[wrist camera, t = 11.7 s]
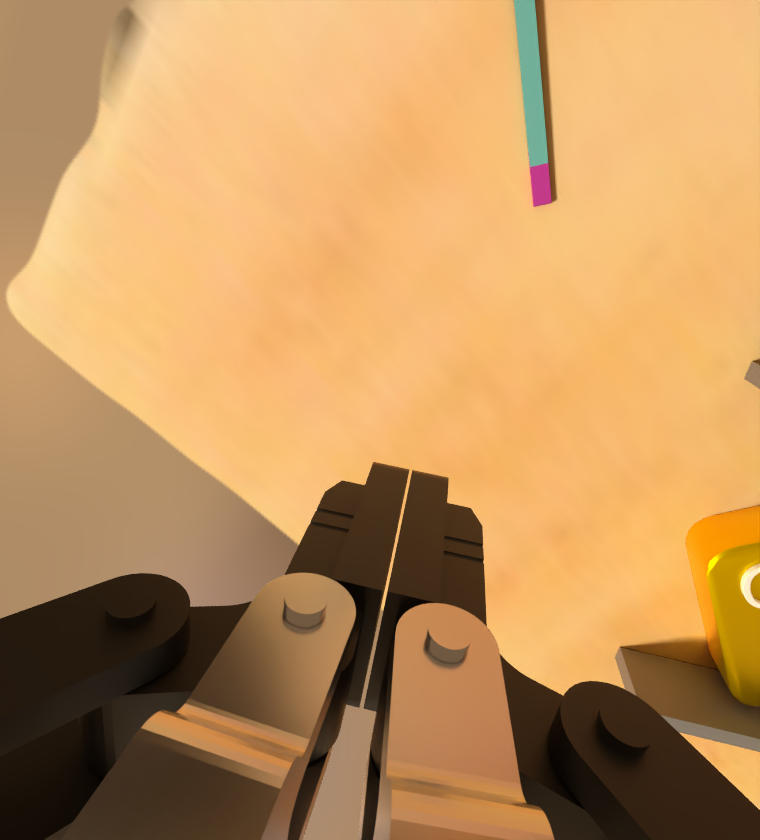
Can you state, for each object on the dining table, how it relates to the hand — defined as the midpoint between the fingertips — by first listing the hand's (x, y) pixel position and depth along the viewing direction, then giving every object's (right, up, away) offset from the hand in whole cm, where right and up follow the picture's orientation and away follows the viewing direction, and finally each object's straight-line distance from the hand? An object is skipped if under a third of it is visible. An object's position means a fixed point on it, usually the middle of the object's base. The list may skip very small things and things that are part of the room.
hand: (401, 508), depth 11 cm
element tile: (+31, -10, +29) cm, 44 cm away
